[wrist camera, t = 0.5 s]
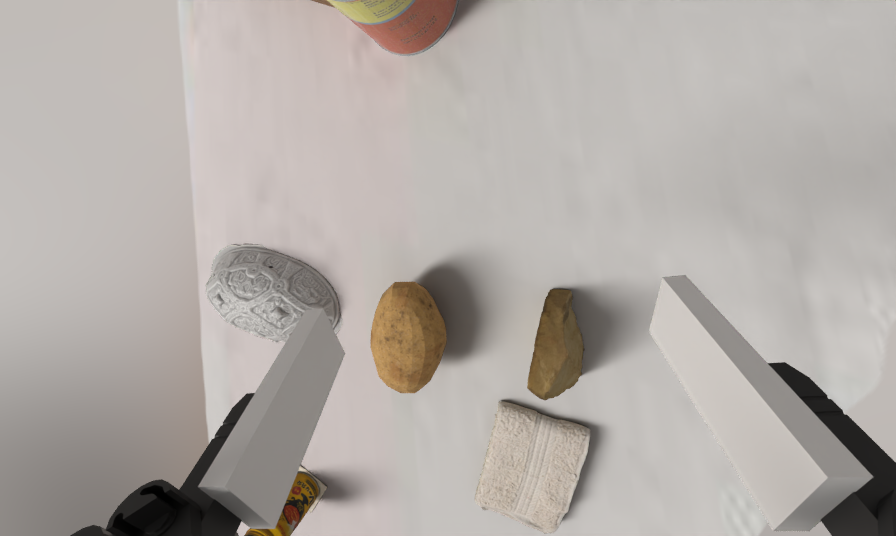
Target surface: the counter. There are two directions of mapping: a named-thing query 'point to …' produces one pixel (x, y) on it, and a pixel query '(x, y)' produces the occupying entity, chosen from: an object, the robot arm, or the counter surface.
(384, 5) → the canned food
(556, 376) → the rock
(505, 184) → the counter surface
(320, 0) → the walnut base
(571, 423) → the washcloth
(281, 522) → the condiment
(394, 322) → the potato
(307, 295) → the silver oval dome
